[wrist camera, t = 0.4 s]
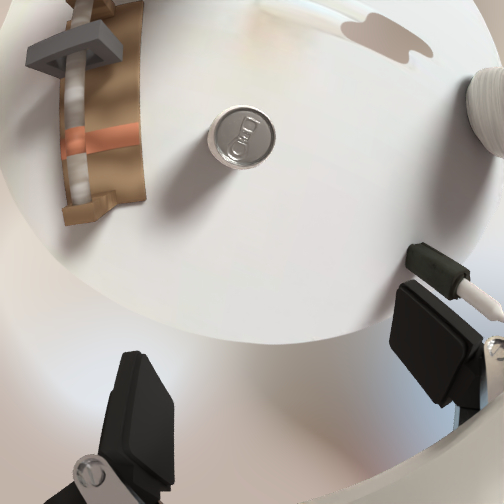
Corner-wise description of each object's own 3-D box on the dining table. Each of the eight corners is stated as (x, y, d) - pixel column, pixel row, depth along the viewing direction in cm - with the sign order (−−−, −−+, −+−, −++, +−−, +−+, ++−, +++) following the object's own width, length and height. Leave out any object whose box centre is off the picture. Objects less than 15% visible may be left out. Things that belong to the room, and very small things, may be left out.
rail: (69, 23, 22) (41, 1, 13) (143, 3, 24) (130, -29, 15) (71, 210, 33) (39, 230, 25) (146, 199, 35) (128, 217, 26)
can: (199, 152, 34) (197, 155, 23) (219, 108, 32) (227, 91, 21) (244, 170, 36) (262, 182, 25) (264, 128, 34) (291, 121, 23)
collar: (62, 63, 22) (27, 47, 14) (123, 45, 24) (100, 19, 15) (60, 78, 23) (25, 66, 15) (122, 61, 24) (98, 38, 16)
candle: (426, 241, 46) (522, 303, 23) (422, 265, 48) (510, 332, 25) (408, 244, 45) (508, 313, 22) (404, 269, 47) (495, 344, 24)
